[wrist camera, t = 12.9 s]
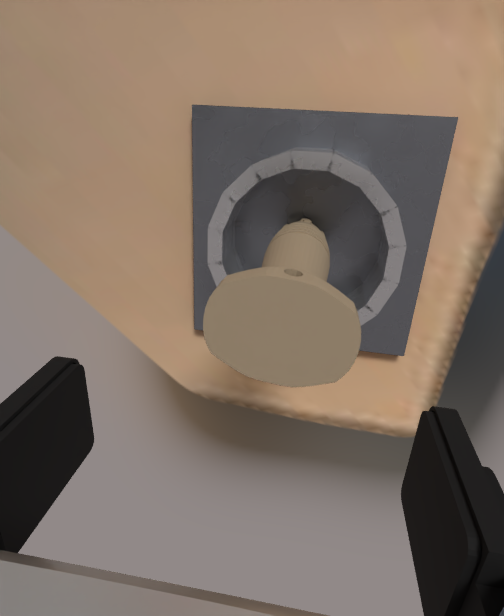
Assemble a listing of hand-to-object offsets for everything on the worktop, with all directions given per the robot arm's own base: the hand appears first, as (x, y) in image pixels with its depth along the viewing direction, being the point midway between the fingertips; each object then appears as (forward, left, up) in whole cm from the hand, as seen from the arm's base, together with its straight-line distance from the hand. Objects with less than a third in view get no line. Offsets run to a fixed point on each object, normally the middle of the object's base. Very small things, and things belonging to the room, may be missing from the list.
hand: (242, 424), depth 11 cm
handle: (0, 0, -21) cm, 21 cm away
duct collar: (0, 0, -22) cm, 22 cm away
